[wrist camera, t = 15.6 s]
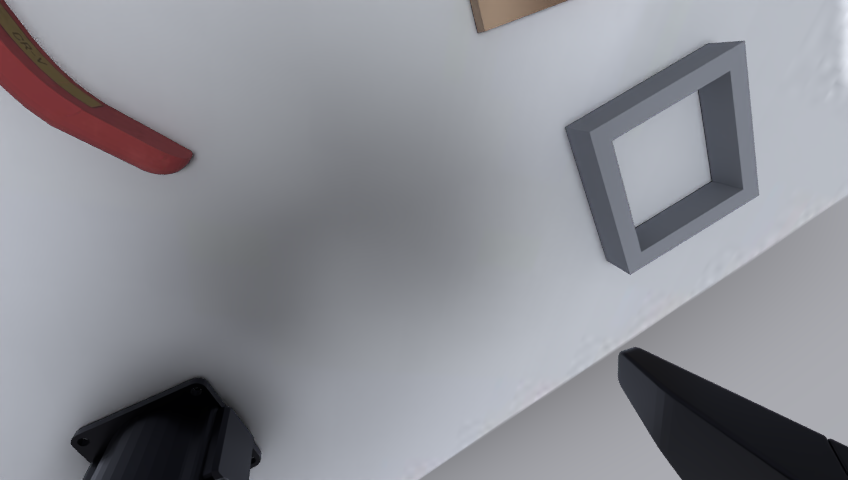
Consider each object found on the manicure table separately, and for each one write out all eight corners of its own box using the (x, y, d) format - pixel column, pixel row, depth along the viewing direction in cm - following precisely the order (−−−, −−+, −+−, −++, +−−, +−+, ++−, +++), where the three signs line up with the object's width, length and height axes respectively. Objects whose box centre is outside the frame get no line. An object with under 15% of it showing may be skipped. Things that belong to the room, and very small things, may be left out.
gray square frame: (607, 260, 26) (630, 274, 24) (565, 127, 22) (589, 132, 20) (727, 186, 26) (759, 195, 24) (708, 43, 22) (744, 40, 20)
